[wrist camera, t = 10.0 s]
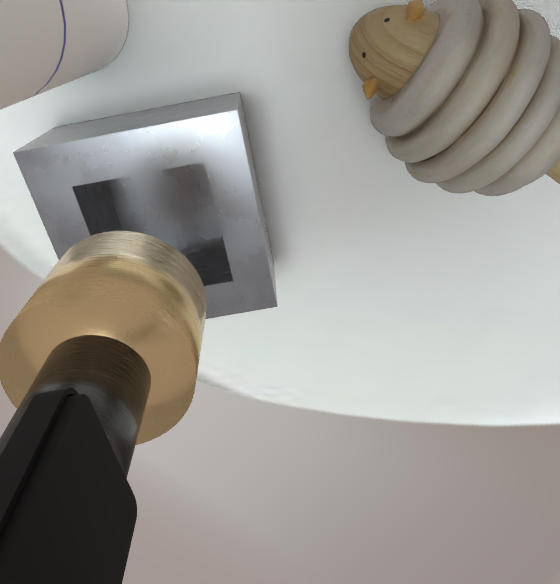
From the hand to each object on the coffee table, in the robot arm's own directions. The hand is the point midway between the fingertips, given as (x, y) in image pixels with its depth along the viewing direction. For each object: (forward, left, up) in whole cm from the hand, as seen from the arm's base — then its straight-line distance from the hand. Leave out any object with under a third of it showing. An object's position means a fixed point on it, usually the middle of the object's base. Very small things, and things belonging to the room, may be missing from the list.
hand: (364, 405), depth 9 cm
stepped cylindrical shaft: (+9, +5, -15) cm, 18 cm away
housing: (+9, +5, -30) cm, 32 cm away
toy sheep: (-11, +1, -31) cm, 33 cm away
